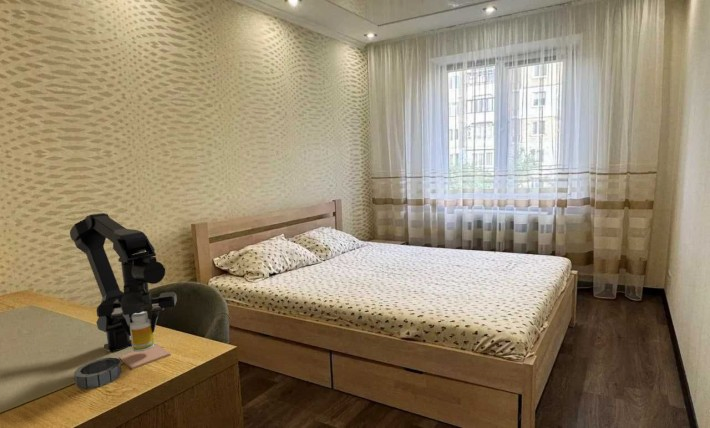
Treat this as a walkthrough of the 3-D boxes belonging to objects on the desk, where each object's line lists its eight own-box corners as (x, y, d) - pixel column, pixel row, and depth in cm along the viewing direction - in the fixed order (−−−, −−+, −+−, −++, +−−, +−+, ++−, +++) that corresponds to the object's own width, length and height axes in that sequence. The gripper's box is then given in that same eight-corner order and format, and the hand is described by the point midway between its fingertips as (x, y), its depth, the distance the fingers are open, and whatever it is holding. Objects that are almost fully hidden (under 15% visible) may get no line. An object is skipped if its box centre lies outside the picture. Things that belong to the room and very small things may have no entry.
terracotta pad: (118, 358, 113) (118, 356, 113) (156, 345, 120) (155, 343, 120) (132, 369, 106) (131, 367, 106) (170, 354, 114) (170, 353, 114)
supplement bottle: (157, 346, 113) (153, 313, 112) (137, 354, 109) (132, 319, 108) (149, 341, 117) (145, 309, 116) (129, 348, 113) (125, 314, 112)
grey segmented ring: (71, 380, 102) (70, 368, 102) (114, 364, 109) (112, 354, 109) (82, 393, 96) (80, 381, 95) (126, 376, 103) (125, 365, 102)
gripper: (86, 292, 100) (94, 352, 102) (168, 282, 106) (175, 339, 108) (99, 280, 111) (106, 334, 113) (174, 271, 116) (179, 324, 118)
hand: (141, 333), depth 113 cm, fingers closed on supplement bottle, 5 cm apart
